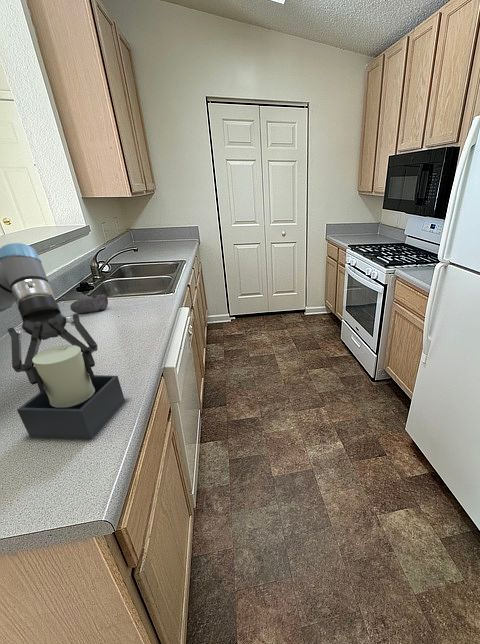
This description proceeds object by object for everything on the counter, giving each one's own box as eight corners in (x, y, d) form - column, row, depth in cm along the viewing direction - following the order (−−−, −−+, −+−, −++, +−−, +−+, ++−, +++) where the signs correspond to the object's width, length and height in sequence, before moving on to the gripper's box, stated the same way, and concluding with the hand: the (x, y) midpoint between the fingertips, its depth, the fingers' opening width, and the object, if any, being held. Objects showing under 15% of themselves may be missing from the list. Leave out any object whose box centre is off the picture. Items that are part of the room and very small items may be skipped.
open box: (30, 437, 76) (16, 409, 72) (72, 399, 89) (62, 374, 85) (91, 439, 75) (80, 411, 72) (125, 401, 88) (117, 375, 85)
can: (100, 383, 84) (86, 341, 79) (86, 405, 76) (69, 360, 70) (61, 387, 83) (44, 344, 77) (42, 410, 74) (21, 364, 69)
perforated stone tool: (72, 316, 144) (67, 301, 141) (72, 312, 148) (67, 298, 145) (110, 310, 151) (106, 295, 148) (110, 307, 155) (106, 292, 152)
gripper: (-29, 305, 70) (4, 401, 66) (87, 285, 82) (121, 365, 78) (-18, 321, 76) (13, 410, 72) (89, 300, 88) (120, 375, 84)
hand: (69, 387), depth 75 cm, fingers closed on can, 9 cm apart
